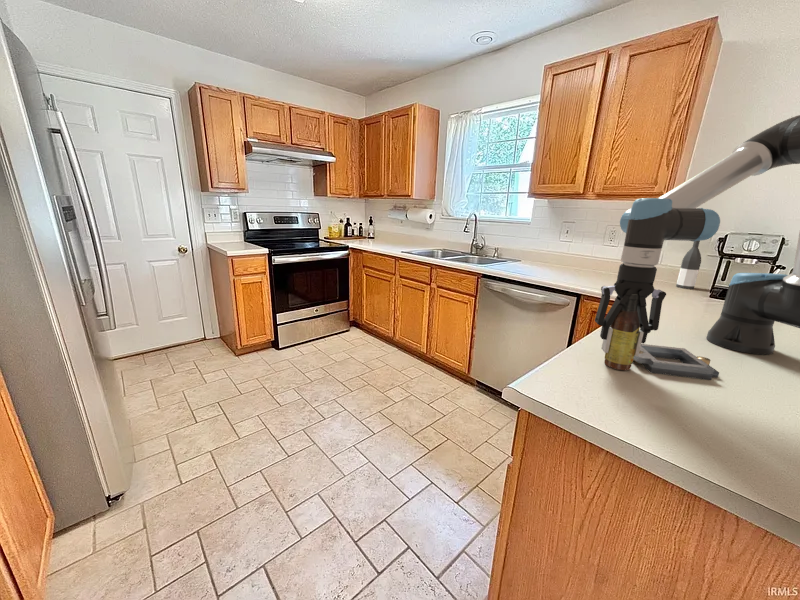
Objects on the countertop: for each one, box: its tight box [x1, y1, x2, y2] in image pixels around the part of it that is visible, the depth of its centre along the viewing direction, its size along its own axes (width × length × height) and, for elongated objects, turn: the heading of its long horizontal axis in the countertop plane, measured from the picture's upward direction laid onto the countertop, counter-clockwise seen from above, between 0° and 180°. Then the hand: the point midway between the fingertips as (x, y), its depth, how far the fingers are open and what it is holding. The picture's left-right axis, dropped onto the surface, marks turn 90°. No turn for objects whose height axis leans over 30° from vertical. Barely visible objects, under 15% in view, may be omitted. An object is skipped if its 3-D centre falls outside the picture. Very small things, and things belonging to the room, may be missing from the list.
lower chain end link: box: [640, 351, 720, 381], centre depth 89 cm, size 16×13×3 cm
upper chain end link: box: [632, 343, 715, 375], centre depth 90 cm, size 16×13×3 cm
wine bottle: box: [675, 241, 702, 290], centre depth 184 cm, size 8×8×30 cm
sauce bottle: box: [604, 294, 640, 371], centre depth 86 cm, size 6×6×20 cm
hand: (619, 352), depth 87 cm, fingers closed on sauce bottle, 6 cm apart
